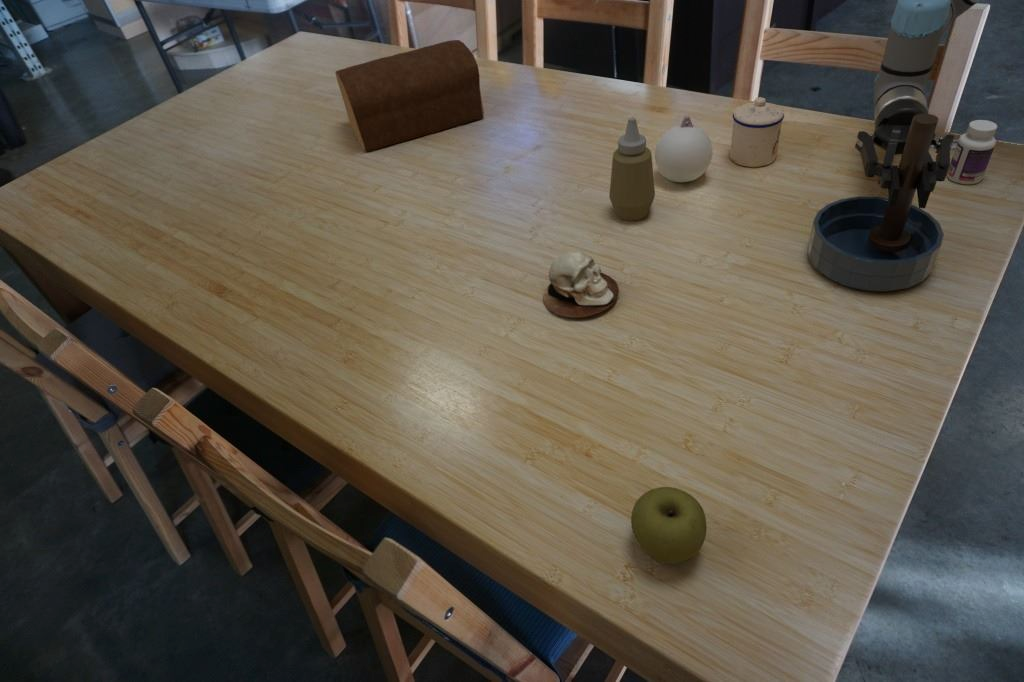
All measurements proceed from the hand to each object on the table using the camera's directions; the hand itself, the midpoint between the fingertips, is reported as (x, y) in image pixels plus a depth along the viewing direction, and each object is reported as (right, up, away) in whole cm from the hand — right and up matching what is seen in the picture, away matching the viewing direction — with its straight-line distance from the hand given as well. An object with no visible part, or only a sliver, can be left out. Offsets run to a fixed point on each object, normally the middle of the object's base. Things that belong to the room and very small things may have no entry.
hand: (909, 198), depth 92 cm
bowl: (+1, -7, +12) cm, 14 cm away
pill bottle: (+25, +9, +25) cm, 36 cm away
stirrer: (+3, -4, +11) cm, 12 cm away
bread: (-77, +33, +69) cm, 109 cm away
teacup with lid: (-7, +17, +40) cm, 44 cm away
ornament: (-22, +12, +37) cm, 44 cm away
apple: (-38, -42, -18) cm, 59 cm away
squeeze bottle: (-33, +4, +30) cm, 45 cm away
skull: (-44, -13, +15) cm, 48 cm away
